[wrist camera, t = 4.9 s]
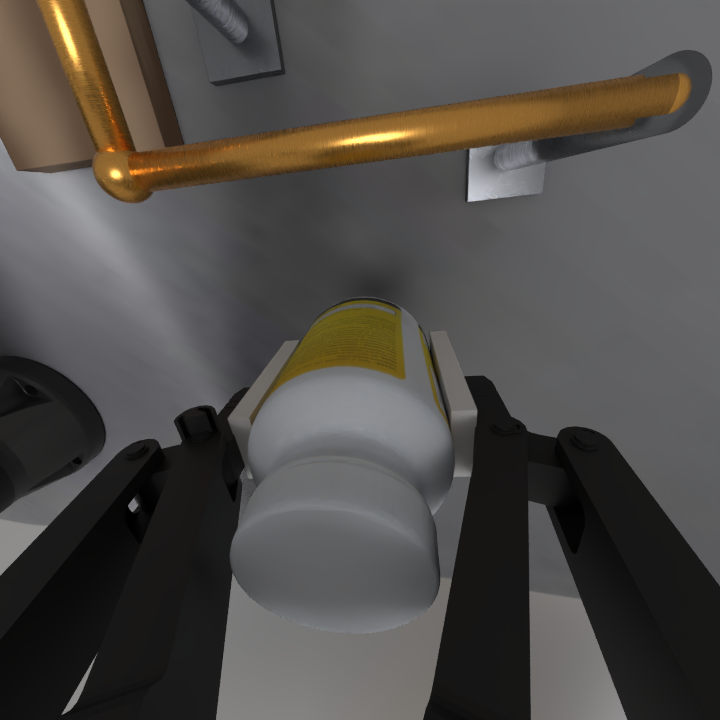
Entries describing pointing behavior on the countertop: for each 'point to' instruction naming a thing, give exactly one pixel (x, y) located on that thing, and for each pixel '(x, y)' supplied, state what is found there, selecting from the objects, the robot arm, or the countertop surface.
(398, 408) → the pill bottle
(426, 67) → the countertop surface
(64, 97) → the pad
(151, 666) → the robot arm
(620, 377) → the countertop surface
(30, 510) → the countertop surface
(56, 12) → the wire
